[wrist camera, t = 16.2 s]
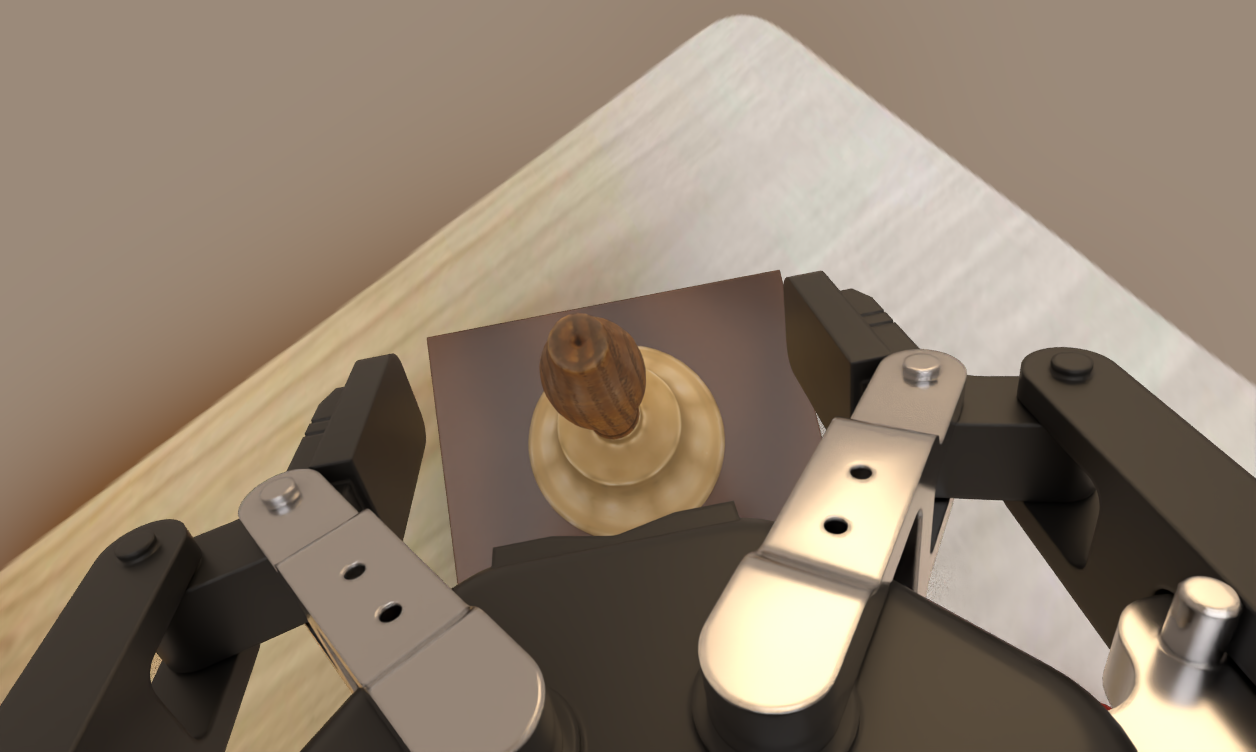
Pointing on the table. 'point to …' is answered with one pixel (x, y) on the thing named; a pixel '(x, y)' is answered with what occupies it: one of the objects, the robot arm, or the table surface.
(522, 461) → the walnut shelf
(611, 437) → the hand bell
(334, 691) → the table surface
